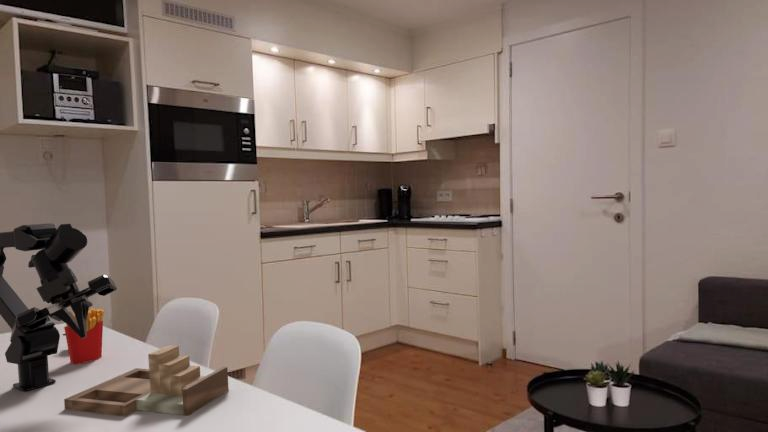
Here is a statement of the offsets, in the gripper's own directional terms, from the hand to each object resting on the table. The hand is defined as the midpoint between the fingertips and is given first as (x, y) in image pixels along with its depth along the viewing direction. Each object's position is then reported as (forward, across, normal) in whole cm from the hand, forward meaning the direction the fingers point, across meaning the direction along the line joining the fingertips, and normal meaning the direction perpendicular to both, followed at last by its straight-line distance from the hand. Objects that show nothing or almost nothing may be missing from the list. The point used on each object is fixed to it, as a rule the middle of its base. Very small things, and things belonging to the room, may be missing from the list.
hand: (84, 337), depth 112 cm
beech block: (+20, +13, -4) cm, 24 cm away
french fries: (-3, -8, +32) cm, 33 cm away
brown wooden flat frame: (+18, +7, 0) cm, 20 cm away
